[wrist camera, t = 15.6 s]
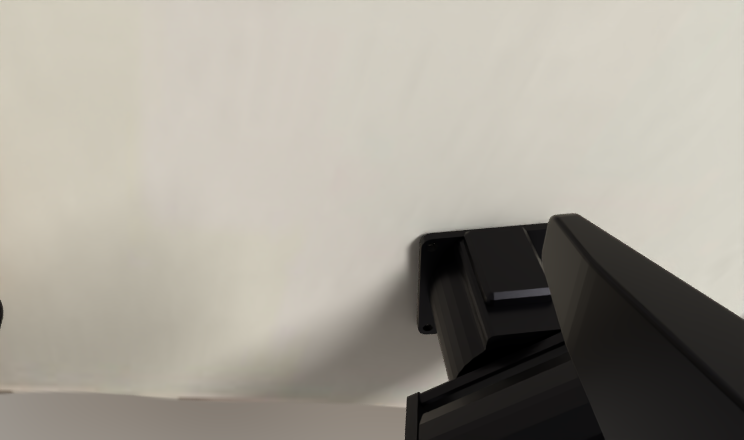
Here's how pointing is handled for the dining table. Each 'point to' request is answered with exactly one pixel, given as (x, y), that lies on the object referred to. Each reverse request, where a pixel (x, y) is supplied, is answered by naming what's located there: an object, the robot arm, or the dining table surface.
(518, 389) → the robot arm
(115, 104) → the dining table surface
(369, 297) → the dining table surface
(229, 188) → the dining table surface
